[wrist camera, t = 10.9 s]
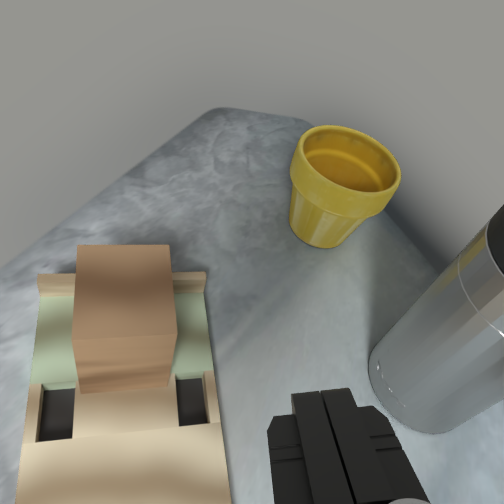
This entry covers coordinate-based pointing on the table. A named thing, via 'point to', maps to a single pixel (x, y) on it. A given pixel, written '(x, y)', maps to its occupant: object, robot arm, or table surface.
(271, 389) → the table surface
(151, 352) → the walnut block
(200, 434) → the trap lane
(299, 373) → the table surface
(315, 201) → the plant pot
